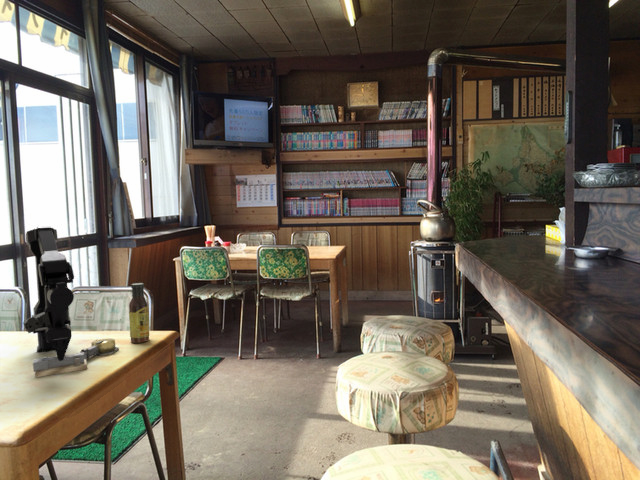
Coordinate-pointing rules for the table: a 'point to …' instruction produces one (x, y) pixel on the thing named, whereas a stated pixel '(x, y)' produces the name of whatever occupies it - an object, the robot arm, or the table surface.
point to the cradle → (63, 368)
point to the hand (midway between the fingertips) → (60, 356)
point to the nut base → (107, 352)
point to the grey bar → (56, 362)
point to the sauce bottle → (138, 315)
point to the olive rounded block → (99, 347)
